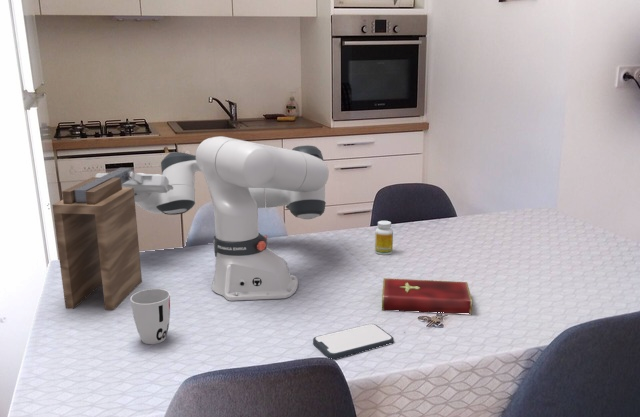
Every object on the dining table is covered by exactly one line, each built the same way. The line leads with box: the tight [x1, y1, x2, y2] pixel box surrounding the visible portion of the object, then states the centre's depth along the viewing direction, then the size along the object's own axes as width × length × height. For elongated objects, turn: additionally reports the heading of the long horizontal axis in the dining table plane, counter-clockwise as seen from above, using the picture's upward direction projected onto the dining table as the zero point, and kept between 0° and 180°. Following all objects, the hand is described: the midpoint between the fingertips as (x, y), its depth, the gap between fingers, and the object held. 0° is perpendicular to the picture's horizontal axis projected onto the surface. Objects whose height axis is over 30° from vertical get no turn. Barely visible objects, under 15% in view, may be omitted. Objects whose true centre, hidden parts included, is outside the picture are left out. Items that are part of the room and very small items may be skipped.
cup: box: [130, 288, 171, 345], centre depth 128 cm, size 8×8×10 cm
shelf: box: [52, 176, 143, 311], centre depth 148 cm, size 12×18×29 cm, turn 174°
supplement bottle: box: [374, 220, 394, 256], centre depth 181 cm, size 5×5×10 cm
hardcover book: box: [381, 277, 473, 314], centre depth 146 cm, size 12×21×4 cm, turn 82°
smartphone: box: [312, 323, 395, 360], centre depth 127 cm, size 9×2×16 cm
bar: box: [74, 167, 133, 203], centre depth 150 cm, size 3×26×3 cm, turn 174°
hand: (121, 174), depth 160 cm, fingers closed on bar, 3 cm apart
